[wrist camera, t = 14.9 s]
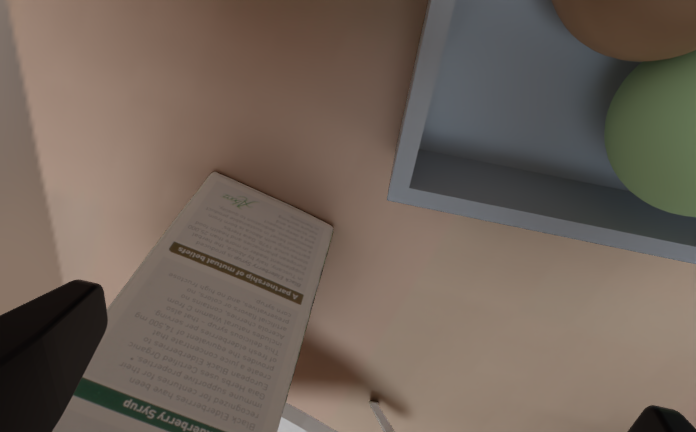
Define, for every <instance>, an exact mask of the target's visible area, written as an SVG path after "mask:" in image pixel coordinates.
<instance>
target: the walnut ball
mask: <svg viewBox="0 0 696 432" xmlns="http://www.w3.org/2000/svg"><path fill="white" fill-rule="evenodd" d="M551 1H552V3H553V6H554V8H555V11H556V13H557V15H558V16H559V18H560V20H561V21H562V23H563V24H564V26H565V27H566V28H567V30H568V31H569V32H570V33H571V34H572V35H573V36H574V37H575V38H576V39H577V40H579V41H580V42H581V43H582V44H584V45H585V46H587V47H589V48H590V49H592V50H594V51H595V52H598V53H600V54H603V55H605V56H608V57H612V58H616V59H620V60H626V61H635V62H644V61H656V60H664V59H670V58H674V57H678V56H682V55H684V54H687V53H690V52H693V51H695V50H696V0H551Z"/></svg>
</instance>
